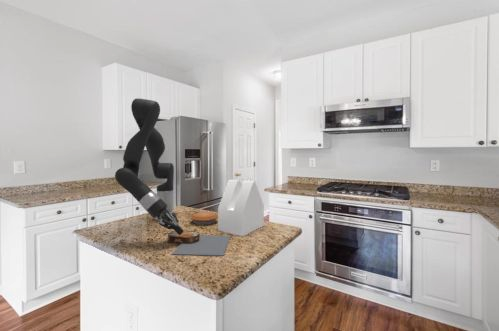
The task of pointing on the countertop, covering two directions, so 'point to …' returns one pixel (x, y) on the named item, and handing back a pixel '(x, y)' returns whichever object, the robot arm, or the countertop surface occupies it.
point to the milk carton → (240, 208)
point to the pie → (204, 218)
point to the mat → (204, 246)
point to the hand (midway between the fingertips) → (181, 233)
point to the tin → (184, 236)
